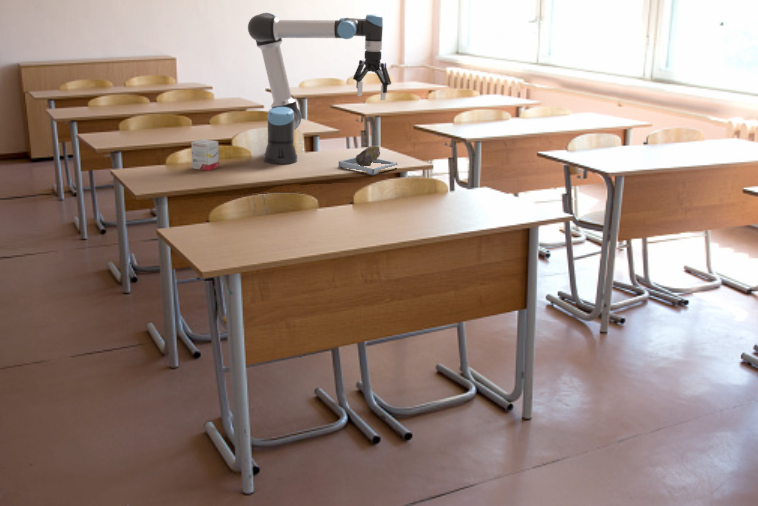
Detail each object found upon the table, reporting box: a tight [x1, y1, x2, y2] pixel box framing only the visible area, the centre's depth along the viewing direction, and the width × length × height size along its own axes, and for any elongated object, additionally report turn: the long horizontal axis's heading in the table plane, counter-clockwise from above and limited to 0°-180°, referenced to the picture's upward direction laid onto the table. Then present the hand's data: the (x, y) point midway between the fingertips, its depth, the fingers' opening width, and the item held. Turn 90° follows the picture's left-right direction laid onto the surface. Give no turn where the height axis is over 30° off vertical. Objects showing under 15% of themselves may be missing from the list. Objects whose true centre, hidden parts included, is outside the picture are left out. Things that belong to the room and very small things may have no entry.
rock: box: [355, 145, 381, 167], centre depth 375 cm, size 11×10×10 cm
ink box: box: [190, 138, 220, 171], centre depth 362 cm, size 9×9×12 cm
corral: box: [338, 156, 398, 176], centre depth 376 cm, size 20×18×3 cm
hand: (371, 98), depth 382 cm, fingers open, 13 cm apart
